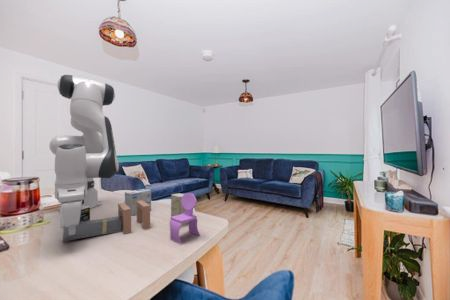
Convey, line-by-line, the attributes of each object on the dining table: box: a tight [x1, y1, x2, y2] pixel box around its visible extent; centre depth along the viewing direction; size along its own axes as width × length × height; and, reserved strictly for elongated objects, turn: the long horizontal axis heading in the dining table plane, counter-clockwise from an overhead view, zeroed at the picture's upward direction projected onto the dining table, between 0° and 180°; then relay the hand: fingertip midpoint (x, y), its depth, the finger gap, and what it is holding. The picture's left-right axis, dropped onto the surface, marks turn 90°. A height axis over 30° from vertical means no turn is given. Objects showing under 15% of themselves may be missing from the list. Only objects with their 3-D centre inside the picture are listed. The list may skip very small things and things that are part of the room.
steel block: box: [62, 216, 123, 242], centre depth 72 cm, size 4×18×5 cm, turn 127°
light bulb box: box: [124, 188, 152, 217], centre depth 99 cm, size 11×7×11 cm, turn 144°
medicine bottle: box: [59, 199, 91, 229], centre depth 82 cm, size 7×7×12 cm
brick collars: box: [117, 200, 151, 235], centre depth 80 cm, size 11×9×9 cm
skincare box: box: [170, 192, 188, 227], centre depth 82 cm, size 6×4×12 cm
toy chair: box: [169, 192, 201, 245], centre depth 70 cm, size 8×9×15 cm
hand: (72, 231), depth 68 cm, fingers closed on steel block, 4 cm apart
